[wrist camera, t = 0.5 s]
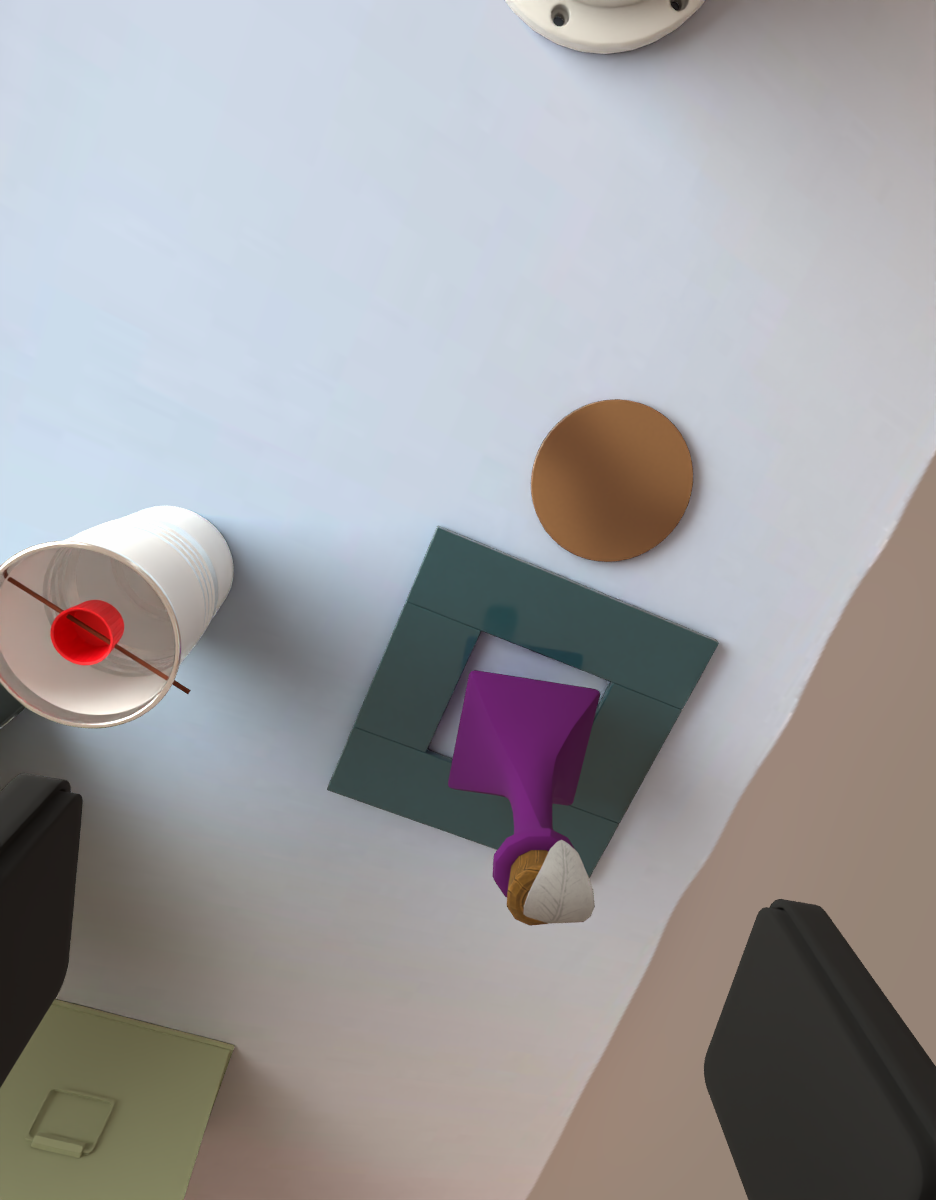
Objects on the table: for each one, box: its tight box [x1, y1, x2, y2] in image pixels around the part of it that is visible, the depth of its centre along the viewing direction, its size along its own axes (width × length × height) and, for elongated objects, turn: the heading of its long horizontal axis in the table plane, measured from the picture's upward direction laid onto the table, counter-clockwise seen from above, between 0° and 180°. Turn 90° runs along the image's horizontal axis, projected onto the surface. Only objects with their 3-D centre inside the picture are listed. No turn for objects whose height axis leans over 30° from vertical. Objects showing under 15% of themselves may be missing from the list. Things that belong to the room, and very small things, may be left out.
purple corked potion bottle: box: [448, 670, 600, 925], centre depth 40 cm, size 8×8×18 cm
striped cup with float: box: [0, 506, 234, 728], centre depth 39 cm, size 10×8×12 cm
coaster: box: [531, 399, 693, 562], centre depth 44 cm, size 9×9×1 cm
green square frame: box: [327, 526, 719, 878], centre depth 48 cm, size 18×18×1 cm
